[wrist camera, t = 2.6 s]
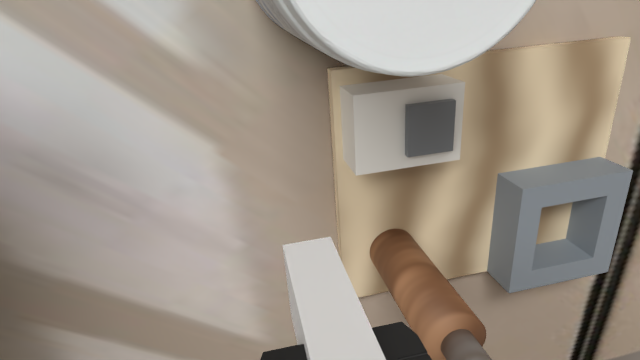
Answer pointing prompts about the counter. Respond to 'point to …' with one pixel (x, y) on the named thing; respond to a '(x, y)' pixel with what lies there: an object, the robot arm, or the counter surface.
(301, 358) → the robot arm
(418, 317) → the awl
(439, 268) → the plywood panel
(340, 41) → the supplement tub
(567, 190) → the socket
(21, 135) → the counter surface
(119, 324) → the counter surface
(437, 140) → the block
